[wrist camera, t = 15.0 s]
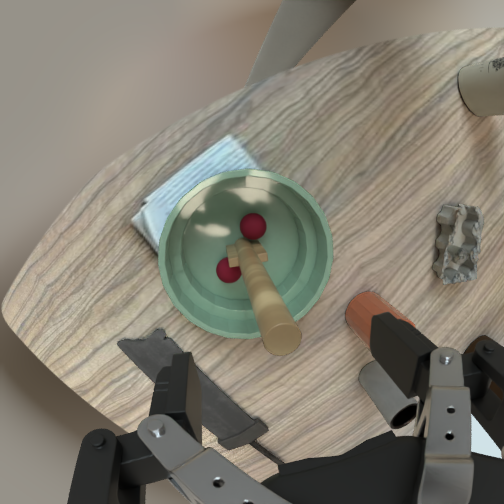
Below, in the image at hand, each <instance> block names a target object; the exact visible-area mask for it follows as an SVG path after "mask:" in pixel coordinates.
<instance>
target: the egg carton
mask: <svg viewBox="0 0 504 504" xmlns="http://www.w3.org/2000/svg"><path fill="white" fill-rule="evenodd" d="M437 222H438V223H440V224H441V228H442V231H441V234H440V236H439V237H438V238H437V239H436V247H437V248H438V249H439V251H440V255H439V258H438V260H437V261H436V262H435V263H434V264H433V270H434V271H436V272H437V275H438V277H439V278H441V279H443V285H447V284H448V283H452V284H455V283H457V282H467V280H474V279H477V261H478V260H479V259H478V254H479V253H480V252H481V251H480V243H481V233H482V229H483V225H484V217H483V214H482V212H481V210H480V208H479V207H474V206H467V205H460V204H458V207H454V206H449V205H443V208H442V211H441V212H440V213H439V214H438V216H437Z"/></svg>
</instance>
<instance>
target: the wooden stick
mask: <svg viewBox="0 0 504 504" xmlns="http://www.w3.org/2000/svg"><path fill="white" fill-rule="evenodd" d="M226 252H227V257H228V262H229V267H236V266H239V267H240V270H241V273H242V276H243V280H244V283H245V286H246V289H247V293H248V296H249V299H250V302H251V306H252V309H253V312H254V315H255V318H256V322H257V325H258V328H259V331H260V334H261V337H262V341H263V344H264V347H265V349H266V350H267V351H268V352H269V353H271V354H273V355H277V356H283V355H287V354H290V353H292V352H293V351H294V350H296V349H297V347H298V346H299V345H300V342H301V338H302V335H301V331H300V329H299V328H298V326H297V324H296V322H295V321H294V319H293V317H292V315H291V313H290V312H289V310H288V308H287V306H286V305H285V303H284V301H283V299H282V297H281V296H280V294H279V292H278V290H277V288H276V287H275V285H274V283H273V281H272V280H271V278H270V276H269V274H268V272H267V271H266V269H265V267H264V265H263V264H262V262H266V261H268V254H267V252H266V250H265V249H264V248H263V246H262V245H261V243H260V242H259V240H256V241H249V240H248V239H246V238H239V239H238V240H236V241H235V243H234V244H231V245H226Z"/></svg>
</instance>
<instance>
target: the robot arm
mask: <svg viewBox="0 0 504 504" xmlns="http://www.w3.org/2000/svg"><path fill="white" fill-rule="evenodd" d="M370 351H371V354H372V356H373V357H374V358H375V360H376V361H377V362H378V363H379V364H380V366H381V367H382V368H383V369H384V370H385V372H386V373H387V374H388V375H389V377H390V378H391V379H392V380H393V382H394V383H395V384H396V385H397V387H398V388H399V389H400V390H401V391H402V393H403V394H404V395H405V396H406V398H407V399H410V398H413V397H415V396H418V397H419V401H418V405H417V413H416V419H415V426H414V431H413V436H398V437H396V436H395V434H394V433H393V431H392V430H391V431H389V432H386V433H384V434H381V435H379V436H376V437H374V438H371V439H368V440H366V441H364V442H363V443H361V444H360V445H358V446H356V447H355V448H353V449H351V450H350V451H348V452H346V453H344V454H342V455H339V456H331V457H318V458H307V459H303V460H299V461H294V462H290V463H285V464H281V465H278V470H279V473H277V474H275V475H273V476H271V477H269V478H267V479H266V480H264V481H263V482H261V483H259V482H257V481H256V480H254V479H253V478H252V477H250V476H249V475H247V474H246V473H245V472H243V471H242V470H241V469H239V468H238V467H237V466H235V465H234V464H233V463H231V462H230V461H229V460H227V459H226V458H225V457H223V456H222V455H221V454H220V453H218V452H217V451H216V450H215V449H213V448H211V447H207V448H204V447H203V446H202V391H201V384H200V380H199V376H198V373H197V370H196V366H195V363H194V359H193V356H192V353H191V352H185V353H177V354H173V358H172V364H171V366H165V367H163V368H162V369H161V370H160V371H159V373H158V374H157V377H156V382H155V387H154V392H153V396H152V402H151V407H150V412H149V417H147V418H145V419H144V420H142V421H141V423H140V424H139V426H138V428H137V430H136V431H134V432H131V433H128V434H124V435H120V436H115V434H114V433H113V432H112V431H110V430H108V429H96V430H93V431H91V432H90V433H88V434H87V435H86V436H85V437H84V439H83V441H82V444H81V447H80V451H79V455H78V459H77V463H76V467H75V471H74V475H73V480H72V484H71V488H70V493H69V498H68V503H67V504H145V494H146V491H145V490H146V484H149V483H153V482H156V481H160V480H164V479H168V480H169V481H170V483H171V484H172V485H173V486H174V487H175V488H176V489H177V490H178V491H179V492H180V493H181V494H182V495H183V496H184V497H185V498H186V499H187V500H188V501H189V502H190V503H191V504H504V348H503V347H502V346H501V345H500V344H498V343H497V342H495V341H492V340H481V341H479V342H478V343H477V344H476V346H475V349H474V352H471V353H466V354H460V353H459V352H458V351H457V350H455V349H453V348H450V347H440V348H438V347H437V346H436V345H435V344H433V343H432V342H431V341H430V340H429V339H428V338H427V337H425V336H424V335H423V334H421V332H420V331H418V330H417V329H416V328H415V327H414V326H413V325H411V324H410V323H409V322H406V321H404V320H401V319H397V318H396V317H395V316H393V315H392V314H391V313H390V312H384V313H381V314H377V315H374V316H373V317H372V319H371V332H370ZM492 381H493V382H494V383H495V384H496V385H497V386H498V387H499V388H500V389H501V390H502V392H503V399H502V400H501V399H500V398H499V397H498V396H497V395H496V394H495V393H494V392H493V391H492V390H491V389H490V388H489V386H490V384H491V382H492ZM471 414H472V415H473V416H474V417H475V418H476V420H477V421H478V422H479V423H480V425H481V426H482V427H483V428H484V430H485V431H486V432H487V433H488V434H489V436H490V437H491V438H492V440H493V441H494V442H495V443H496V445H497V446H498V447H499V449H500V450H501V455H502V459H501V458H496V457H492V456H487V455H483V454H479V453H475V452H471Z"/></svg>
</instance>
